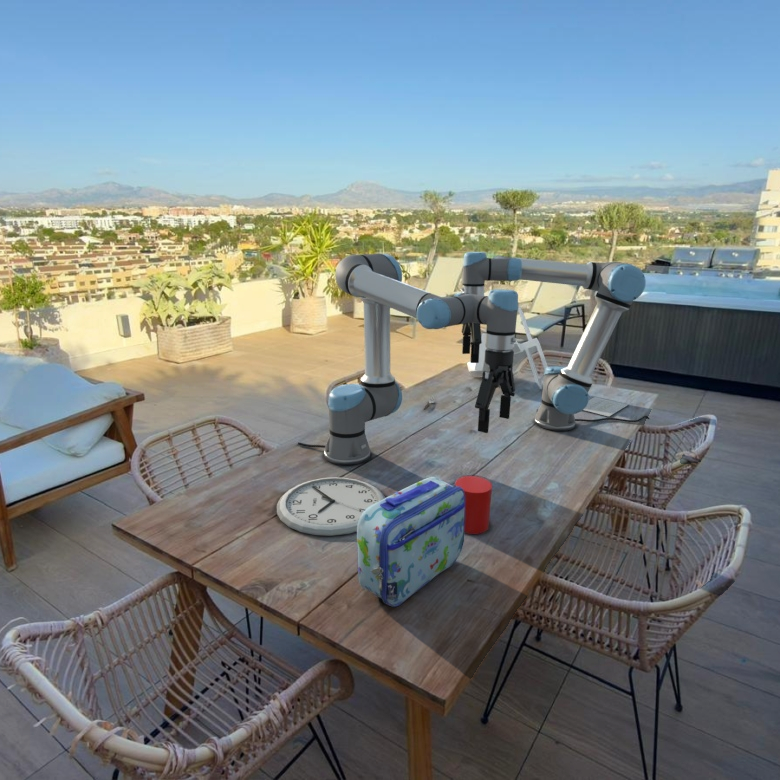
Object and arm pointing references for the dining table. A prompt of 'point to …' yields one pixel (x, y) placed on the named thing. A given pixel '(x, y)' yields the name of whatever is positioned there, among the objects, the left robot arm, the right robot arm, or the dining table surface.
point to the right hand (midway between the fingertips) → (470, 358)
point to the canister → (476, 503)
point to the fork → (430, 402)
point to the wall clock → (327, 505)
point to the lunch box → (410, 539)
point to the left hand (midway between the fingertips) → (493, 424)
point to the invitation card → (603, 406)
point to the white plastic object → (519, 353)
